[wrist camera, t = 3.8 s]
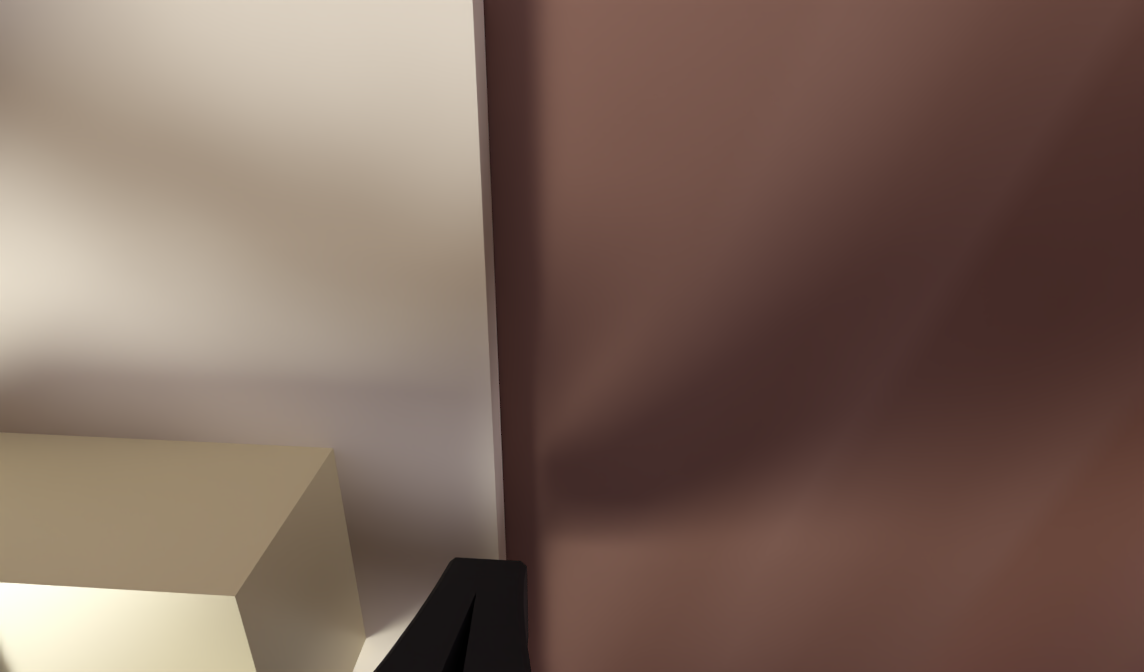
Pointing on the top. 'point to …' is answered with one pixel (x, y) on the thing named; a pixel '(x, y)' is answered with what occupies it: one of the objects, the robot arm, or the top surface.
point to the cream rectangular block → (173, 557)
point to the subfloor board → (264, 253)
